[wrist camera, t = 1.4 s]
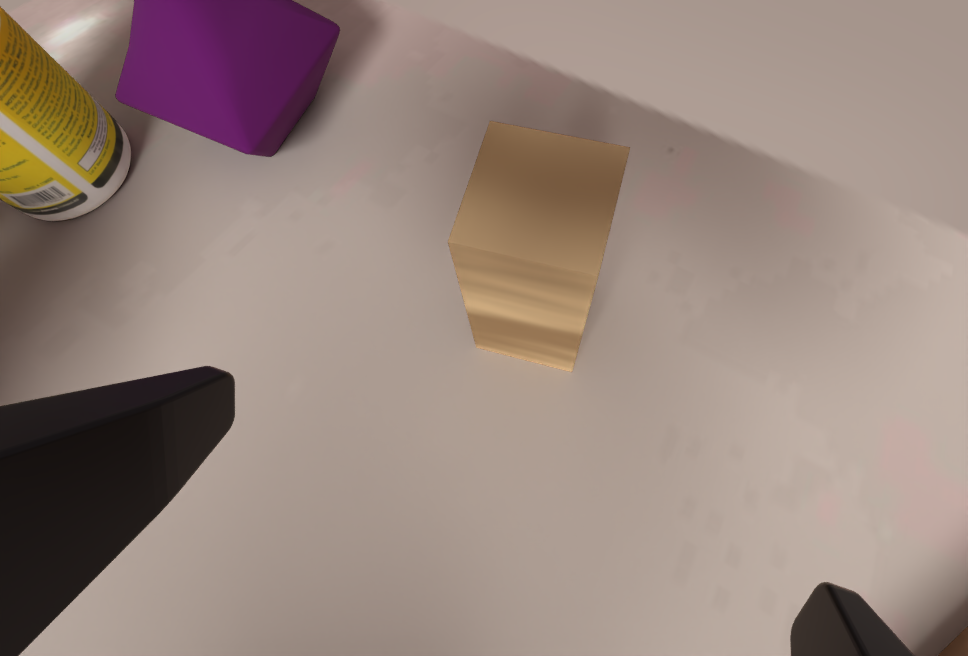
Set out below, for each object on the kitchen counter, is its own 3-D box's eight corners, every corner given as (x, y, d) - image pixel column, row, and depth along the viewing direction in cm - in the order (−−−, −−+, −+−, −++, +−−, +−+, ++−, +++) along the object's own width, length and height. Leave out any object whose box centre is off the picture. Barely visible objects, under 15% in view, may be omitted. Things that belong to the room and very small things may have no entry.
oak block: (571, 372, 23) (598, 276, 14) (476, 347, 23) (447, 241, 15) (593, 283, 24) (630, 147, 16) (502, 262, 25) (489, 120, 16)
